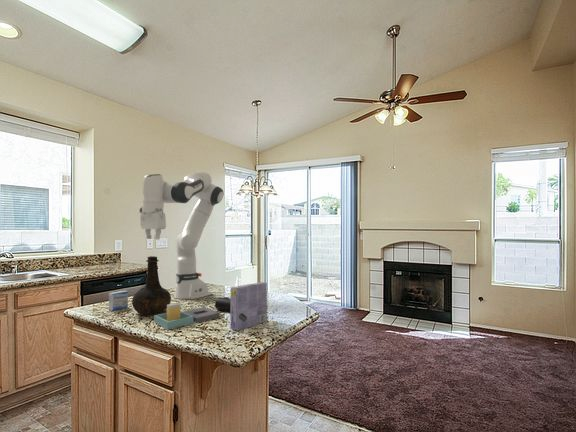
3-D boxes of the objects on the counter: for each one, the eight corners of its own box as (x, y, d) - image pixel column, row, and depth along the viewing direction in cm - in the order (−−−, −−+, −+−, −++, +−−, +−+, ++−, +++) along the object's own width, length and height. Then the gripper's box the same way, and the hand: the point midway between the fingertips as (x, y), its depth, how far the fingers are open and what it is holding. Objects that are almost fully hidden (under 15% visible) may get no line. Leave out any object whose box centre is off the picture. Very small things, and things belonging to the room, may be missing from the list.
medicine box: (112, 310, 159) (112, 293, 159) (108, 309, 162) (108, 292, 162) (128, 307, 165) (128, 291, 165) (124, 306, 168) (124, 290, 168)
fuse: (177, 320, 141) (177, 302, 141) (180, 321, 139) (180, 303, 139) (166, 323, 137) (166, 304, 137) (169, 324, 135) (169, 305, 135)
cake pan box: (261, 318, 145) (261, 280, 146) (269, 320, 142) (269, 281, 143) (229, 329, 131) (229, 287, 131) (237, 332, 127) (237, 288, 128)
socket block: (204, 312, 156) (204, 307, 156) (219, 318, 146) (219, 312, 146) (181, 317, 148) (181, 311, 148) (196, 323, 138) (196, 318, 138)
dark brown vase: (156, 306, 167) (156, 254, 168) (178, 311, 158) (179, 255, 159) (123, 314, 152) (124, 257, 153) (147, 320, 143) (147, 259, 143)
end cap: (214, 312, 157) (214, 298, 157) (223, 308, 163) (223, 295, 163) (231, 314, 152) (231, 300, 153) (239, 311, 159) (239, 297, 159)
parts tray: (179, 317, 147) (179, 310, 147) (193, 324, 137) (193, 316, 137) (154, 323, 139) (154, 315, 139) (167, 330, 129) (167, 322, 129)
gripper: (169, 208, 138) (169, 239, 138) (151, 209, 153) (151, 238, 152) (155, 207, 134) (155, 240, 133) (137, 209, 148) (137, 238, 148)
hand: (152, 239), depth 143 cm, fingers open, 8 cm apart
